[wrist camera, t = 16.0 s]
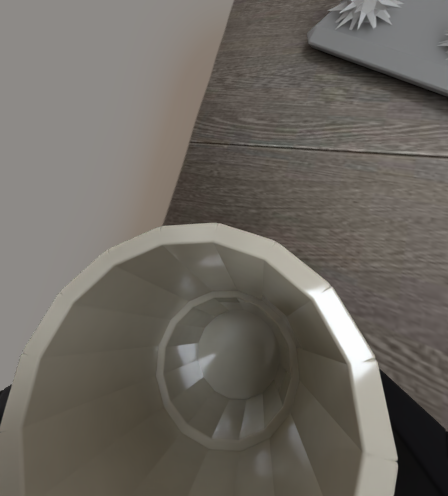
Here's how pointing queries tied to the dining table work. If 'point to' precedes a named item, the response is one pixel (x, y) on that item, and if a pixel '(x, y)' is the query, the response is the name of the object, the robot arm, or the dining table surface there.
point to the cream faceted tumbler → (197, 379)
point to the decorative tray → (390, 38)
